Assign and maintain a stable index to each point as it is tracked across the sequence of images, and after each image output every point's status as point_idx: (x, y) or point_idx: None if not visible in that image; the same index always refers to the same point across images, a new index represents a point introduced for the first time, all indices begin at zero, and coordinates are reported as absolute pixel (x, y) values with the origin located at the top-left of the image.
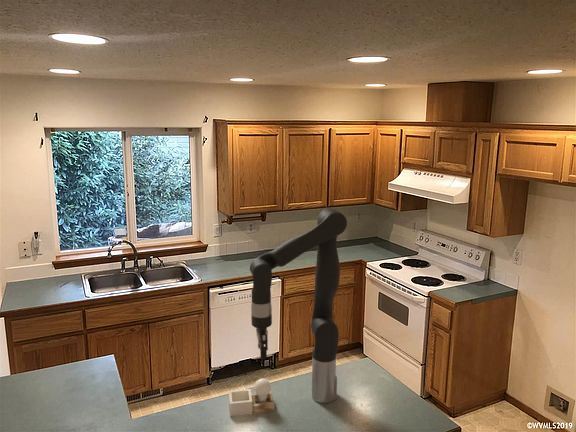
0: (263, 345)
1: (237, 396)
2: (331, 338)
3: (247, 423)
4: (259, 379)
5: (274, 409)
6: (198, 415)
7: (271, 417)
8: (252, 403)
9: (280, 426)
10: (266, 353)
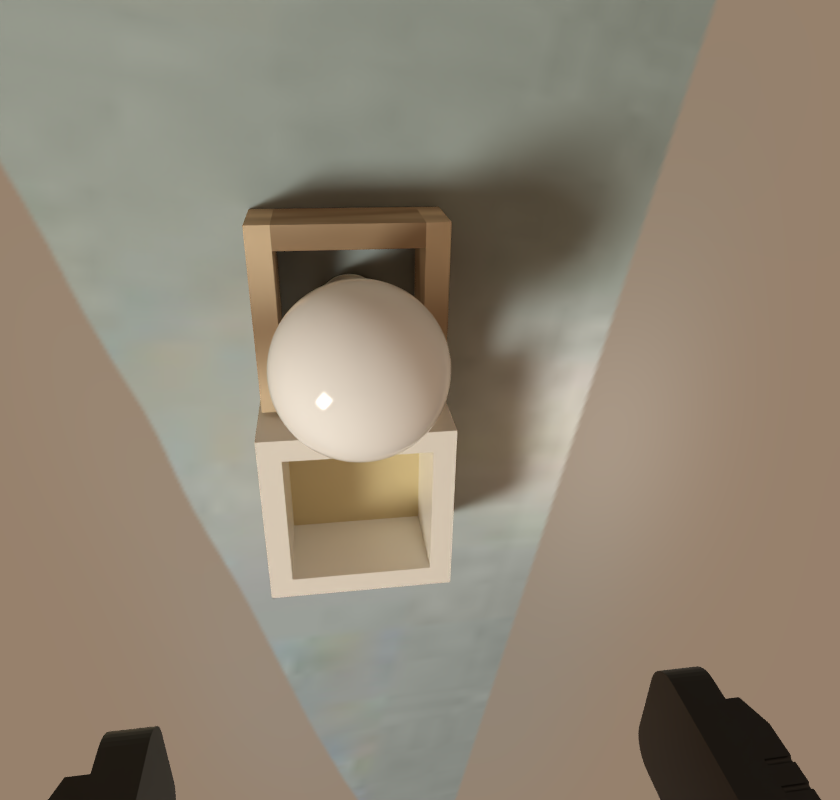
0: (140, 792)
1: (289, 512)
2: None
3: (539, 415)
4: (341, 441)
5: (441, 210)
6: (392, 669)
7: (516, 242)
8: None
9: (644, 184)
10: (779, 785)
